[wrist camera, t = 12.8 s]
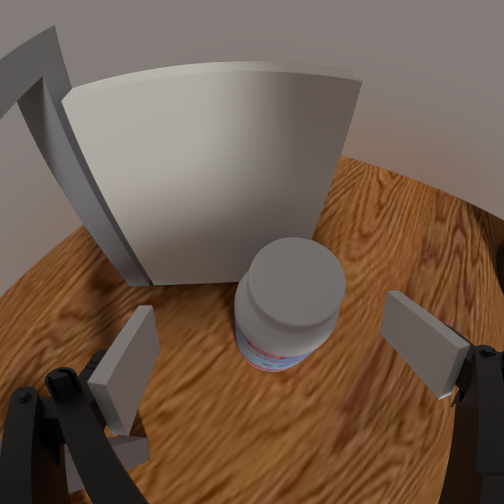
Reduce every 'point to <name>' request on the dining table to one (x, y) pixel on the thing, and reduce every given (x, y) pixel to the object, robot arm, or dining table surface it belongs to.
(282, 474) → the dining table surface
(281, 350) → the pill bottle
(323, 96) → the door
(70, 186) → the door frame
